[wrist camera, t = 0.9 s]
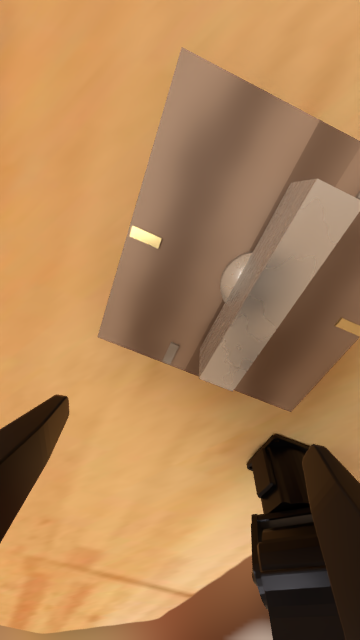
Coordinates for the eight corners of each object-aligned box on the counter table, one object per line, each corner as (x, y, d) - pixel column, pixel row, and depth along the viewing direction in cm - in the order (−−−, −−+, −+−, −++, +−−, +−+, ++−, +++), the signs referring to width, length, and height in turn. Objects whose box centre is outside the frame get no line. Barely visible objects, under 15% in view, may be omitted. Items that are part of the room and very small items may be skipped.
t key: (264, 177, 16) (296, 168, 10) (323, 206, 16) (385, 212, 11) (189, 326, 21) (184, 373, 16) (235, 345, 21) (246, 396, 16)
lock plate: (435, 203, 16) (483, 205, 13) (281, 388, 24) (291, 413, 21) (186, 74, 14) (181, 44, 12) (110, 320, 22) (96, 338, 20)
